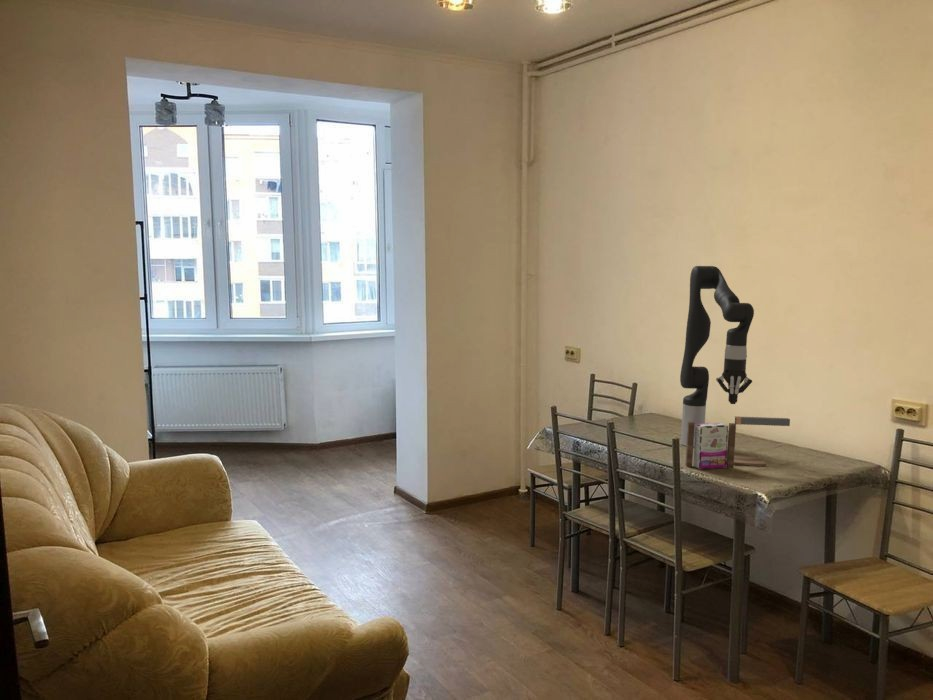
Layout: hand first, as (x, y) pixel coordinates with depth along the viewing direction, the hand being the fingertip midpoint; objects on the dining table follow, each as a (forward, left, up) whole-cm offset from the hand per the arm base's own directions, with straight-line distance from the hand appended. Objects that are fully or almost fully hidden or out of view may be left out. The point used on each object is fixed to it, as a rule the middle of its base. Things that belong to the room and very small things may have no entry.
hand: (732, 403), depth 263 cm
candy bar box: (0, -7, -25) cm, 26 cm away
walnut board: (-10, +7, -24) cm, 27 cm away
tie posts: (0, -7, -24) cm, 25 cm away
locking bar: (0, +11, -8) cm, 13 cm away
